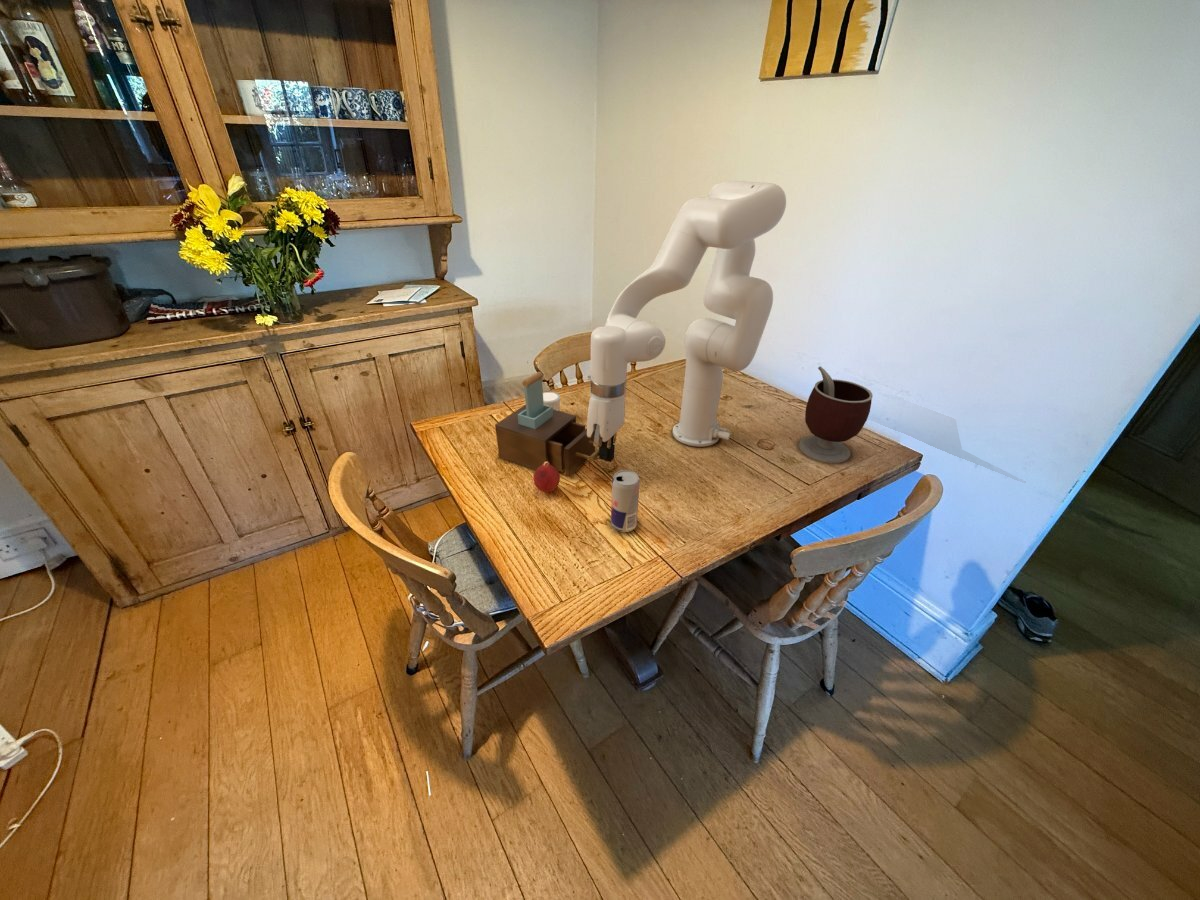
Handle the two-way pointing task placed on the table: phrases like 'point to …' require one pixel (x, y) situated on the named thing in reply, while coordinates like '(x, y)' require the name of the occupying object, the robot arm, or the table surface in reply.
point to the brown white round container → (552, 400)
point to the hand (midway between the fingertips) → (606, 458)
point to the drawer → (571, 448)
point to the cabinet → (528, 438)
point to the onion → (546, 477)
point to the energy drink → (625, 500)
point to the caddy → (534, 403)
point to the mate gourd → (834, 418)
